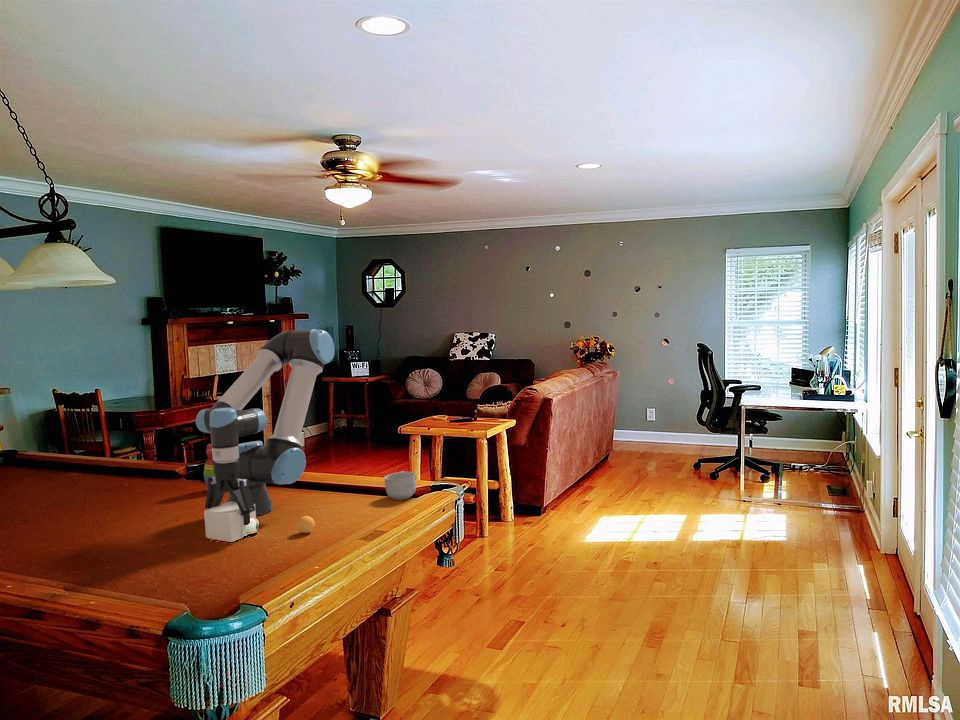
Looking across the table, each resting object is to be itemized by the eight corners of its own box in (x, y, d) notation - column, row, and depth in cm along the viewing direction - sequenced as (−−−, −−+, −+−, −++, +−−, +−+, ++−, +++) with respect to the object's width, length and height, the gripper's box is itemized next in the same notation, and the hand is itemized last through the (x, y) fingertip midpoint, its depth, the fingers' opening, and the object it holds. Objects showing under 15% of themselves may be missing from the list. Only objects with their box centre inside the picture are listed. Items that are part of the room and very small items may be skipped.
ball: (294, 534, 219) (293, 517, 219) (305, 529, 224) (304, 513, 223) (308, 536, 217) (306, 519, 216) (318, 531, 221) (317, 514, 221)
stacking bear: (239, 486, 281) (235, 440, 280) (224, 493, 271) (220, 446, 270) (213, 486, 284) (210, 440, 282) (198, 493, 274) (194, 446, 272)
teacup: (411, 502, 249) (410, 478, 248) (380, 501, 251) (379, 478, 251) (422, 491, 263) (421, 469, 262) (393, 490, 265) (392, 469, 264)
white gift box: (206, 539, 218) (204, 510, 217) (231, 529, 227) (229, 501, 226) (232, 543, 213) (229, 513, 213) (257, 532, 222) (255, 504, 222)
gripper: (188, 461, 220) (194, 533, 222) (246, 465, 210) (251, 541, 212) (207, 455, 227) (213, 526, 228) (264, 459, 217) (269, 533, 218)
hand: (231, 533), depth 220 cm, fingers closed on white gift box, 10 cm apart
